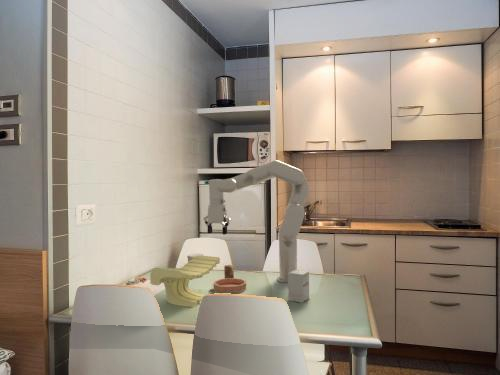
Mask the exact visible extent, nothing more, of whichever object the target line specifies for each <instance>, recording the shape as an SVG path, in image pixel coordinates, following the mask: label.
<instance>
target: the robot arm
mask: <svg viewBox="0 0 500 375" xmlns="http://www.w3.org/2000/svg"><path fill="white" fill-rule="evenodd" d="M274 178H276V179H279V180H282V181H284V182H287V183H289V184H291V186H292V191H291V194H290V198H289V201H288V202H287V203H288V204H287V206H286V207H285V215H284V217H283V220H282V222H281V224H280V225H279V227H278V242H279V243H278V250H279V252H278V257H279V259H278V260H279V261H278V263H279V264H278V265H279V266H278V267H279V275H278V276H277V277H276V280H277V281H278V282H280V283H285V284H286V283H288V273H290V272H292V271H294V270H298V242H297V241H298V240H297V237H298V235H299V233H300V230H301V227H302V225H303V222H304V218H305V214H306V212H305V205H306V201H307V198H308V195H309V189H310V188H309V183H308V180H307V178H306V176H305V173H304V171H302V169H299V168H297V167H295V166H292V165H290V164H287V163H284V162H282V161H281V160H278V159H275V160H272V161H270V162H267V163H265V164H261V165H259V166H256V167H253V168H251V169H249V170H246V172H244V173H241V174H238V175H236V176H233V177H231V178H226V179H224V178H223V179H221V178H220V179H219V178H216V179H215V178H214V179H213V178H212V179H210V180H208V181H209V182H208V188H209V192H208V193H209V196H208V197H209V204H208V209H207V215H206V216H205V217H203V221H204V223H205V225H206V227H207V234H208V235H209V234H213V225H212V224H221V225H222V235H227V234H228V227H229V225H230V223H231V221H232V218H230V217H229V216H228V213H227V208H226V204H225V203H226V200H225V199H224V193H229V194H231V193H234V192H236V191H238V190H240V189H241V190H242V189H244V188H246V187H250V186H254V185H258V184H261V183H264V182H266V181H269V180H271V179H274Z"/></svg>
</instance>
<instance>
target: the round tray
mask: <svg viewBox="0 0 500 375" xmlns="http://www.w3.org/2000/svg"><path fill="white" fill-rule="evenodd" d="M213 290H214V292H215V293H218V294H222V293H235V294H240V293H244V292H245V291H246V290H247V280H245V279H243V278H237V277H234V278H225V277H224V278H219V279H217V280H214V282H213Z"/></svg>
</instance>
